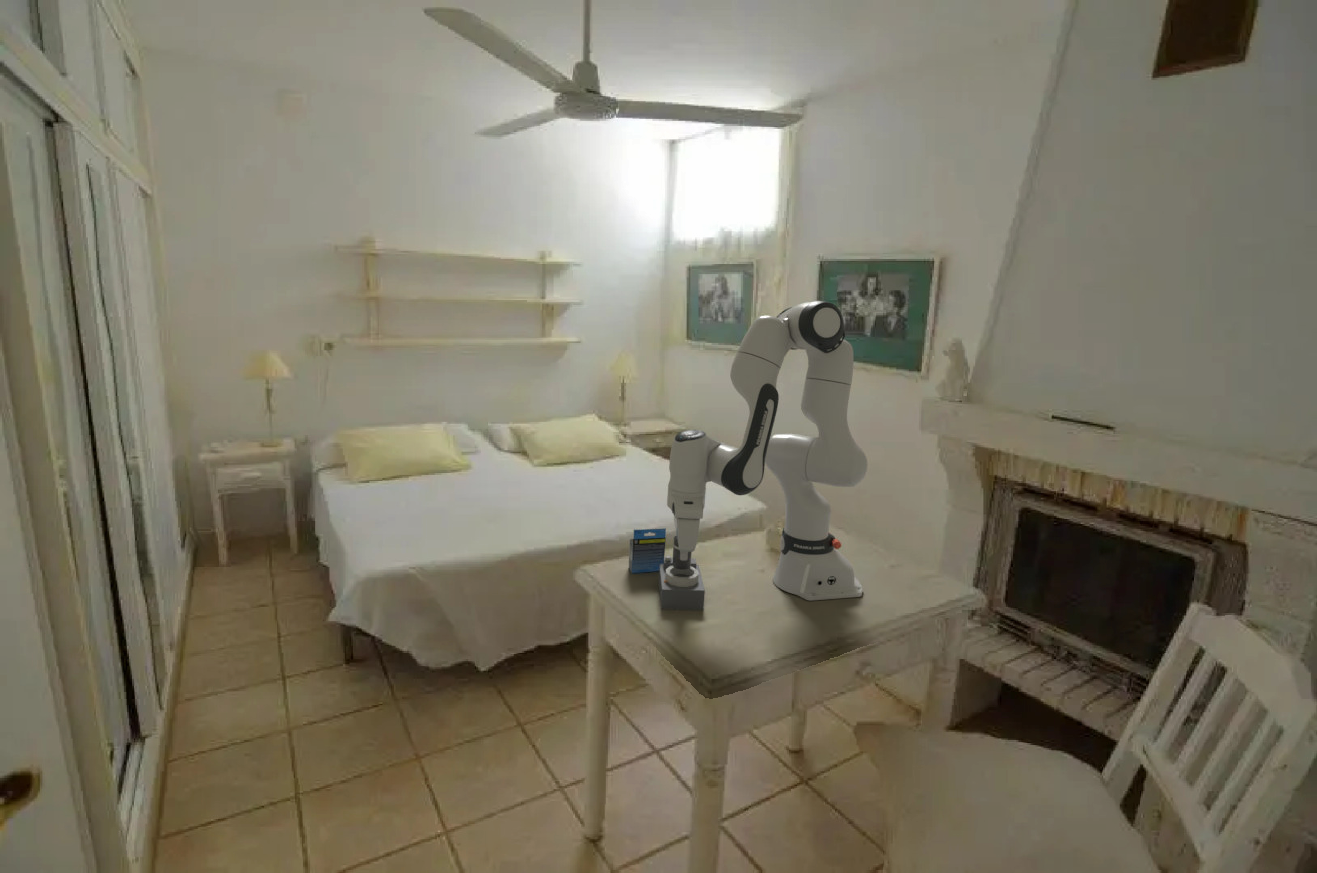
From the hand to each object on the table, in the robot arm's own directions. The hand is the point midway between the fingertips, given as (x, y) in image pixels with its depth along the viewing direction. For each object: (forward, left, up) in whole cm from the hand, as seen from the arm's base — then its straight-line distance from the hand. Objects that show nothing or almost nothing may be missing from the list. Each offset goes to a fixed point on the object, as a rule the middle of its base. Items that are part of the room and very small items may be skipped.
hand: (682, 554), depth 158 cm
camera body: (0, -2, -12) cm, 12 cm away
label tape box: (+8, -16, -12) cm, 21 cm away
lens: (0, 0, -3) cm, 3 cm away
